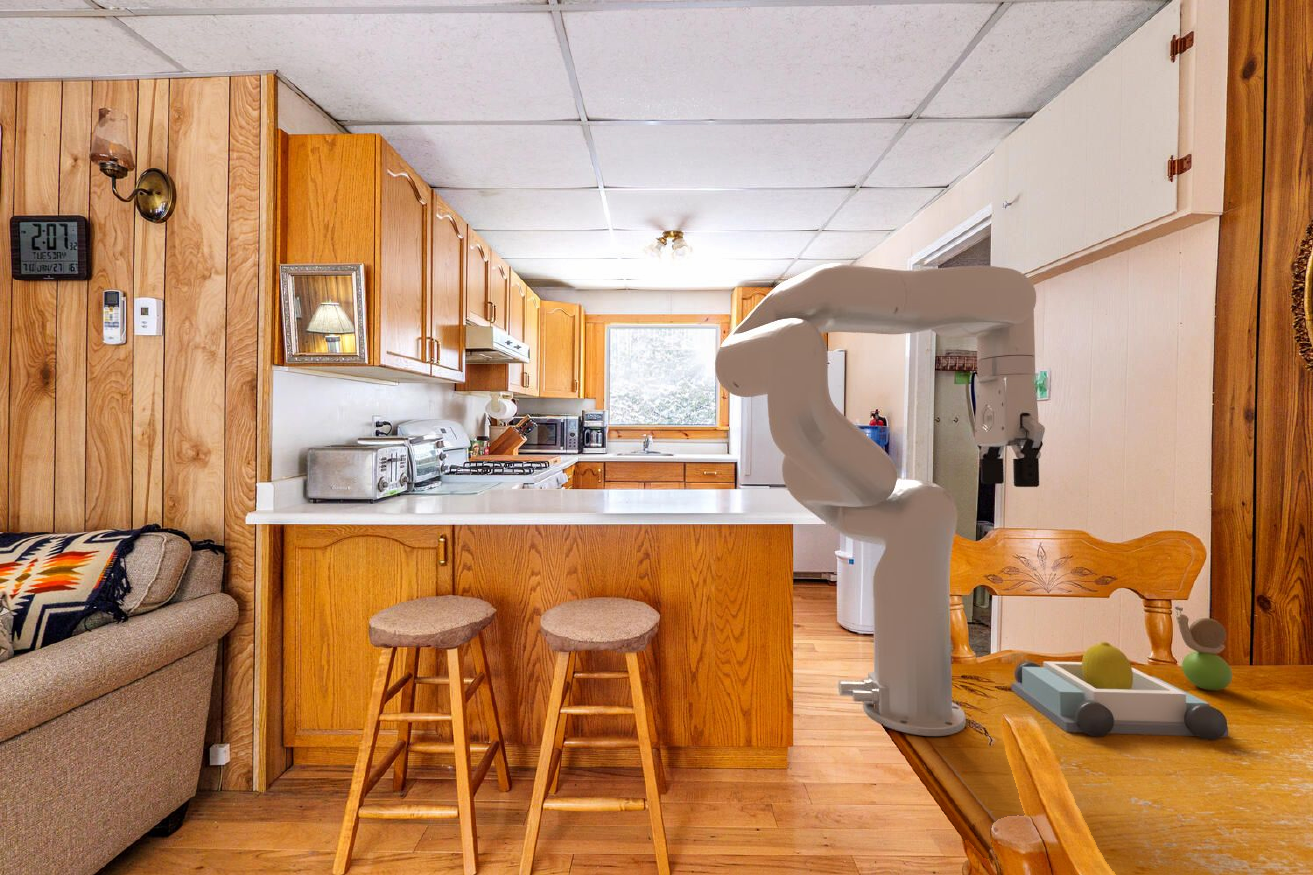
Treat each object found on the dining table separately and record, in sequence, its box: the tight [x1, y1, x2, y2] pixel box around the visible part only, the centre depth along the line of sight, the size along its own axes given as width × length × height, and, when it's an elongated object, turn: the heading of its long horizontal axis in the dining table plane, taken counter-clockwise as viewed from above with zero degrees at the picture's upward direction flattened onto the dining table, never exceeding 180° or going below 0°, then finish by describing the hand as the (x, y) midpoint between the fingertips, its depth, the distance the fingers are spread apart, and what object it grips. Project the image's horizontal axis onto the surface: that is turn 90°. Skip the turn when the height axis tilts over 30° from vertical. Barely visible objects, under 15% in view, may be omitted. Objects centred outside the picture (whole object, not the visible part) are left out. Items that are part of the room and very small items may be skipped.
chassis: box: [1011, 660, 1230, 741], centre depth 79 cm, size 19×15×5 cm
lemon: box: [1081, 641, 1133, 690], centre depth 80 cm, size 6×6×8 cm
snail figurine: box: [1174, 605, 1233, 691], centre depth 87 cm, size 5×6×12 cm
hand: (1008, 485), depth 88 cm, fingers open, 9 cm apart
